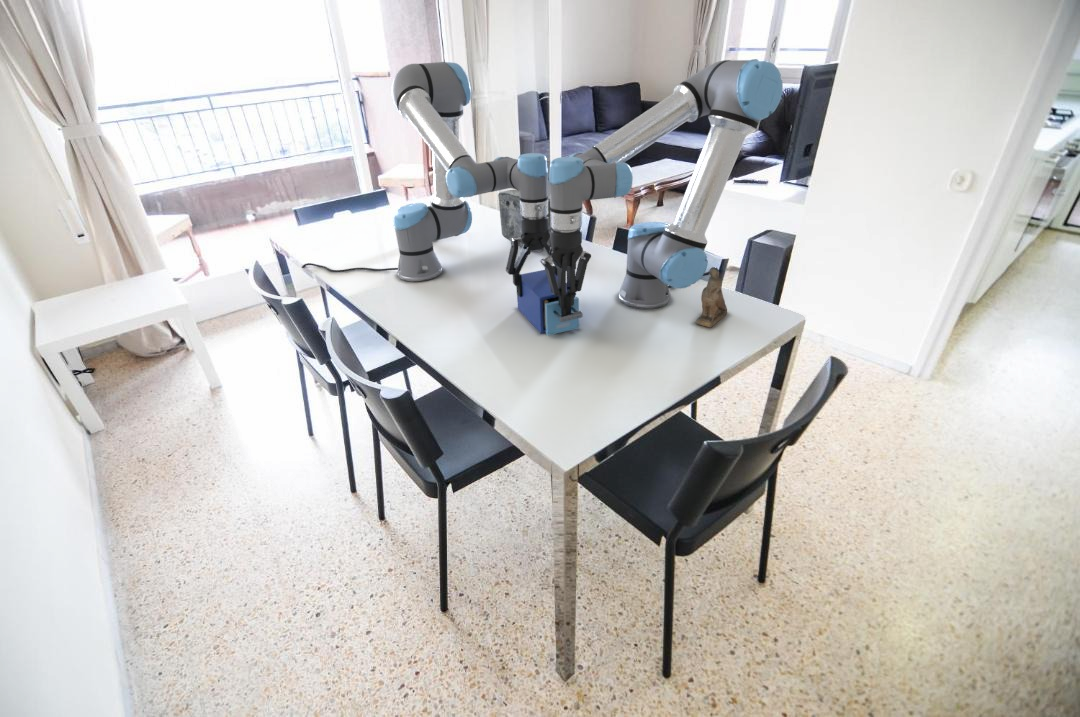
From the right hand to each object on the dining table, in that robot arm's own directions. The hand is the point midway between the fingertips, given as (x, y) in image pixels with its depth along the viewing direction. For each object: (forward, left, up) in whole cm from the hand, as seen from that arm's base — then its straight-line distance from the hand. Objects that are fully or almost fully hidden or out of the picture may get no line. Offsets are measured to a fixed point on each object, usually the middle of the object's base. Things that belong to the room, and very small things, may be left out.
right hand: (566, 317), depth 130 cm
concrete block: (-13, -74, -6) cm, 75 cm away
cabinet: (+1, -14, -6) cm, 15 cm away
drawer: (0, -8, -5) cm, 9 cm away
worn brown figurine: (-42, +5, -6) cm, 43 cm away
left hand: (+1, -19, 0) cm, 20 cm away
